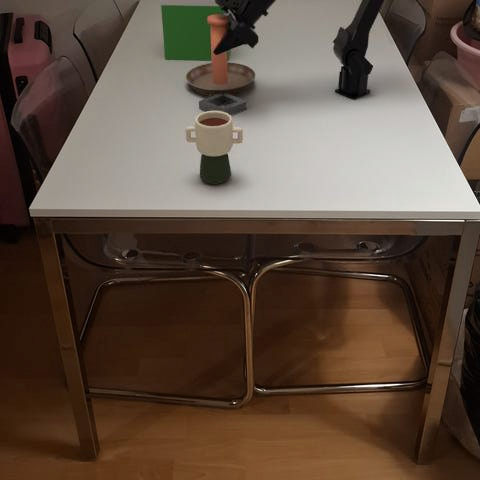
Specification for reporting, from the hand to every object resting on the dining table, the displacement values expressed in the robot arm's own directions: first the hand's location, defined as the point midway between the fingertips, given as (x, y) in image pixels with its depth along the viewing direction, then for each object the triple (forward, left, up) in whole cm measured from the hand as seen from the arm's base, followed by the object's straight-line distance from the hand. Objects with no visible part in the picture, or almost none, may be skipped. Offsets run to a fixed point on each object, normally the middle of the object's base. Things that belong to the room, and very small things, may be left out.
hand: (213, 50), depth 148 cm
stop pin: (-1, -1, -8) cm, 8 cm away
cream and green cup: (-26, +22, -14) cm, 37 cm away
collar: (-3, 0, -13) cm, 14 cm away
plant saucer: (+8, -9, -14) cm, 18 cm away
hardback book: (+28, -18, -14) cm, 36 cm away
